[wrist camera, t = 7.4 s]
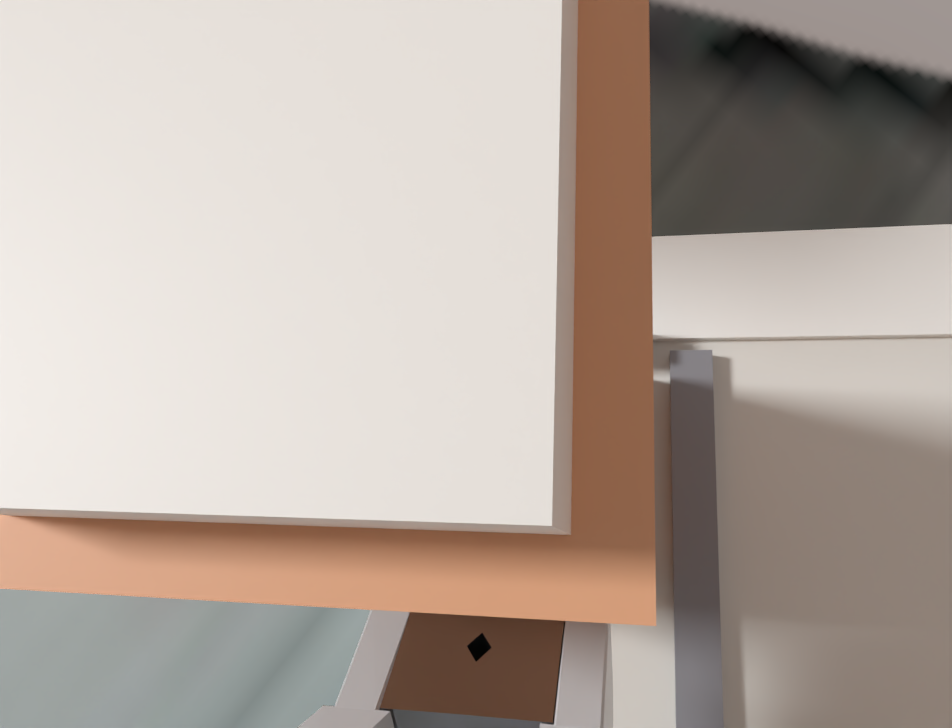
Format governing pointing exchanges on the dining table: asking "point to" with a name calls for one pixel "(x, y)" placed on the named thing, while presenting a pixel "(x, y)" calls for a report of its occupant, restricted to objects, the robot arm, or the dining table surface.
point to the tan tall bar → (329, 304)
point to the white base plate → (798, 484)
